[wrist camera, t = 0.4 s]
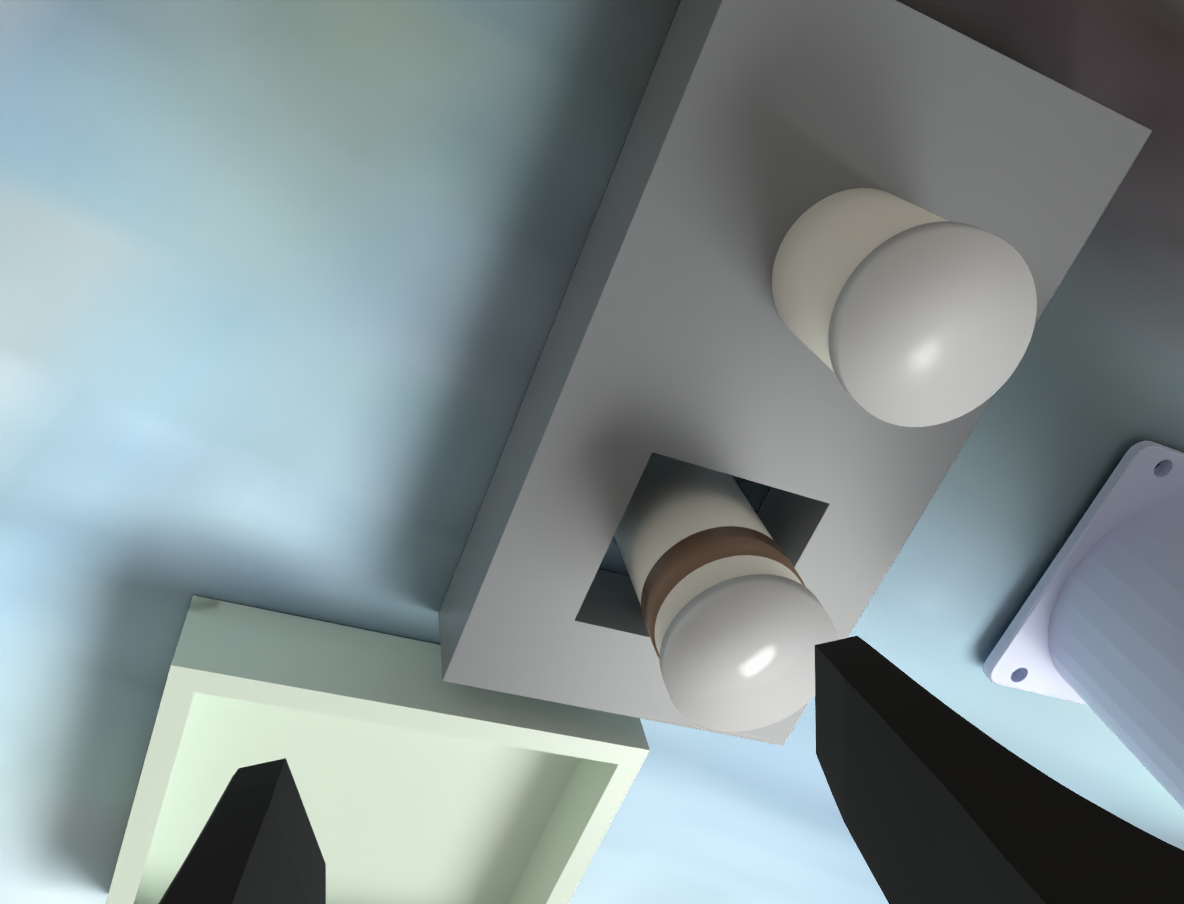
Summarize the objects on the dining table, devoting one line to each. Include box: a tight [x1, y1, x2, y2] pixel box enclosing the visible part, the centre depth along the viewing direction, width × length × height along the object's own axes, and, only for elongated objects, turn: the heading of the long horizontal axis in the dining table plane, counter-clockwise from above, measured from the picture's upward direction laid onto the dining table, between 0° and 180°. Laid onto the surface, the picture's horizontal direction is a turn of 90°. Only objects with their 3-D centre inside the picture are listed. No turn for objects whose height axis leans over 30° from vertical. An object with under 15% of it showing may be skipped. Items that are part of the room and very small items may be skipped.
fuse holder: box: [438, 0, 1152, 745], centre depth 19 cm, size 9×16×6 cm, turn 158°
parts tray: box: [106, 595, 650, 904], centre depth 25 cm, size 11×10×2 cm
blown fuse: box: [614, 452, 837, 732], centre depth 21 cm, size 3×3×6 cm
